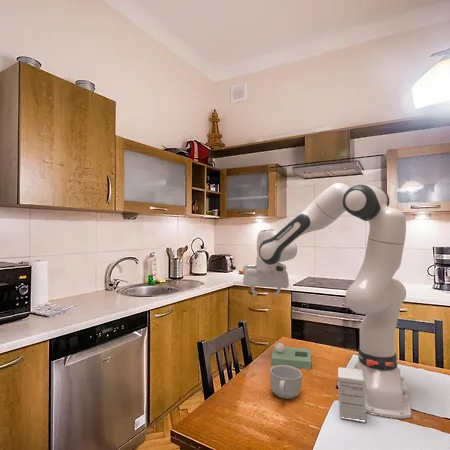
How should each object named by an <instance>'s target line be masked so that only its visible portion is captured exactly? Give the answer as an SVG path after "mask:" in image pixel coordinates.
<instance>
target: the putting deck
mask: <svg viewBox="0 0 450 450" xmlns="http://www.w3.org/2000/svg"><path fill="white" fill-rule="evenodd" d="M275 346H276V345H274V347H273V350H272V353H271V357H270V366H272V367H273V366H277V365H287V366H291V367H294V368H297V369H301V370H302V369H304V370H312V349H311V348H304V347H292V346H284V351H283V352H281V353H279V352H277V351H276V349H275Z"/></svg>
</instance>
